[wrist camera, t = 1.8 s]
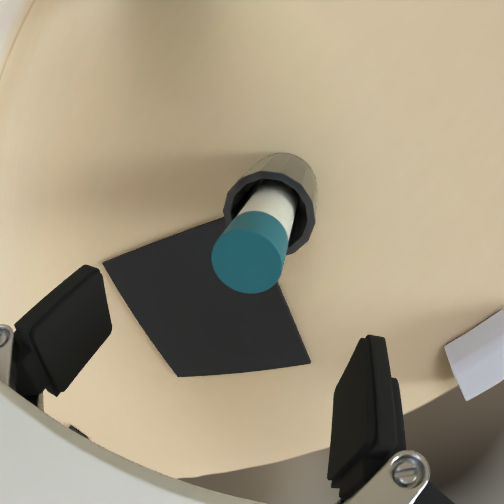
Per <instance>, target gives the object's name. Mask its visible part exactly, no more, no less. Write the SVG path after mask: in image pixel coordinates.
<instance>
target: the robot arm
mask: <svg viewBox="0 0 504 504" xmlns="http://www.w3.org/2000/svg"><path fill="white" fill-rule="evenodd" d="M14 326H15V328H16V331H15V332H13V330H12V328H11V327H10V326H8V325H5V324H0V504H265V503H261V502H256V501H252V500H247V499H242V498H238V497H234V496H230V495H226V494H223V493H219V492H215V491H212V490H208V489H205V488H202V487H198V486H195V485H192V484H189V483H186V482H183V481H180V480H177V479H175V478H172V477H169V476H167V475H164V474H161V473H159V472H156V471H154V470H151V469H149V468H146V467H144V466H142V465H139V464H137V463H135V462H133V461H130V460H128V459H126V458H124V457H122V456H120V455H118V454H115V453H113V452H111V451H109V450H107V449H105V448H104V447H102V446H100V445H98V444H96V443H94V442H92V441H90V440H89V439H87V438H85V437H83V436H81V435H80V434H78V433H76V432H75V431H73V430H71V429H70V428H68V427H66V426H65V425H63V424H61V423H60V422H58V421H57V420H55V419H54V418H52V417H51V416H49V415H48V414H46V413H45V412H44V406H43V391H44V389H45V388H46V389H47V391H48V392H50V393H51V394H53V395H55V396H56V397H57V396H58V395H59V394H60V392H64V391H65V390H66V389H67V388H68V386H69V385H70V384H71V382H72V381H73V380H74V379H75V377H76V376H77V375H78V374H79V372H80V371H81V370H82V368H83V367H84V366H85V365H86V363H87V362H88V361H89V360H90V358H91V357H92V356H93V355H94V354H95V352H96V351H97V350H98V349H99V347H100V346H101V345H102V344H103V343H104V341H105V340H106V339H107V338H108V337H109V335H110V334H111V331H112V324H111V319H110V314H109V309H108V304H107V299H106V293H105V288H104V282H103V276H102V274H101V273H100V270H99V269H98V268H95V267H92V266H89V265H83V266H82V267H80V268H79V269H78V270H77V271H75V272H74V273H73V274H72V275H71V276H69V277H68V278H67V279H66V280H64V281H63V282H62V283H61V284H60V285H58V286H57V287H56V288H55V289H54V290H52V291H51V292H50V293H49V294H48V295H47V296H45V297H44V298H43V299H42V300H41V301H40V302H39V303H37V304H36V305H35V306H34V307H33V308H32V309H31V310H30V311H28V312H27V313H26V314H25V315H24V316H23V317H22V318H21V319H20V320H19V321H18V322H16V323H15V324H14ZM429 476H430V468H429V464H428V463H427V460H426V459H425V458H424V457H423V456H422V455H421V454H419V453H417V452H416V451H411V450H406V442H405V431H404V421H403V412H402V404H401V397H400V389H399V384H398V380H397V379H396V378H391V372H390V366H389V359H388V353H387V347H386V341H385V338H384V337H380V336H374V335H367V336H366V338H361V339H360V340H359V342H358V344H357V346H356V349H355V351H354V353H353V355H352V357H351V359H350V361H349V363H348V365H347V367H346V369H345V371H344V373H343V375H342V377H341V379H340V381H339V383H338V384H337V386H336V389H335V392H334V399H333V417H332V431H331V443H330V455H329V464H328V474H327V479H328V480H332V484H331V488H340V491H339V497H340V498H341V499H340V500H338V501H337V502H336V503H335V504H454V503H453V502H452V501H451V500H450V499H449V498H447V497H446V496H445V495H444V494H443V493H442V492H441V491H439V490H438V489H437V488H436V487H435V486H434V485H433V484H432V483H430V482H429V481H428V480H429Z"/></svg>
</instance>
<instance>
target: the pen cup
mask: <svg viewBox="0 0 504 504" xmlns="http://www.w3.org/2000/svg"><path fill="white" fill-rule="evenodd" d="M264 179H271V180H280V181H282V182H283V183H285V184H287V185H288V186H290V187H292V188H293V189H295V190H296V191H297V193H298V194H299V196H300V197H299V201H298V205H297V209H296V213H295V217H294V221H293V225H292V229H291V233H290V237H289V241H288V249H287V253H286V255H289V254H293V253H295V252H296V251H297V250H298V249H299V248H300V247H302V246H303V245H304V244H305V243H306V242H307V241H308V240H309V238H310V235H311V233H312V230H313V228H314V225H315V219H316V202H317V184H316V177H315V175H314V173H313V171H312V169H311V167H310V166H309V165H308V164H307V163H306V162H305V161H304V160H303V159H301V158H300V157H298V156H295V155H293V154H289V153H275V154H272V155H269V156H267V157H265V158H263V159H261V160H260V161H259V162H258V163H257V164H256V165H255V166H254V167H252V168H251V169H250V170H249V171H248V172H247V173H246V174H245V175H244V176H242V177H241V178H240V179H239V180H238V182H237V183H236V184H235V185H234V186H233V187H232V188H231V189H230V190H229V192H228V193H227V197H226V201H225V205H224V209H223V213H224V218H225V222H226V227H228V225H229V224H230V223H231V221H232V220H233V219H234V218H235V217H236V216H237V215H238V214H239V212H240V211H241V210H242V208H243V207H244V206H245V204H246V203H247V202H248V200H249V199H250V198H251V196H252V195H253V194H254V193H255V191H256V190H257V189H258V187H259V186H260V185H261V183H262V182H263V181H264Z"/></svg>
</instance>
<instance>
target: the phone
mask: <svg viewBox="0 0 504 504" xmlns="http://www.w3.org/2000/svg"><path fill="white" fill-rule="evenodd" d="M69 428H70V429H71V430H73V431H75V432H76V433H78V434H80V435H81V436H83V437H85V438H87V437H86V436H85V435H83V434H82V433H81V432H79V431H78V430H77V429H75V428H74V427H72V426H70V427H69ZM87 439H88V438H87Z"/></svg>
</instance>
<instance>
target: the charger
mask: <svg viewBox="0 0 504 504" xmlns="http://www.w3.org/2000/svg"><path fill="white" fill-rule="evenodd" d="M444 348H445V351H446V354H447V357H448V360H449V363H450V366H451V369H452V371H453V374H454V376H455V378H456V380H457V382H458V384H459V387H460V389H461V390H462V393H463V395H464V397H465V399H466V401H468V400H470V399H471V398H473V397H475V396H477V395H479V394H480V393H482V392H484V391H486V390H487V389H489V388H491V387H492V386H494V385H496V384H497V383H499V382H501V381H502V380H504V309H501V310H500V311H498V312H497V313H496V314H494V315H493V316H491V317H490V318H488V319H487V320H485V321H484V322H482V323H481V324H479V325H478V326H476V327H475V328H473V329H472V330H470V331H468V332H467V333H465V334H464V335H462V336H460V337H459V338H457V339H455V340H454V341H452V342H450V343H449V344H447V345H445V346H444Z"/></svg>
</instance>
